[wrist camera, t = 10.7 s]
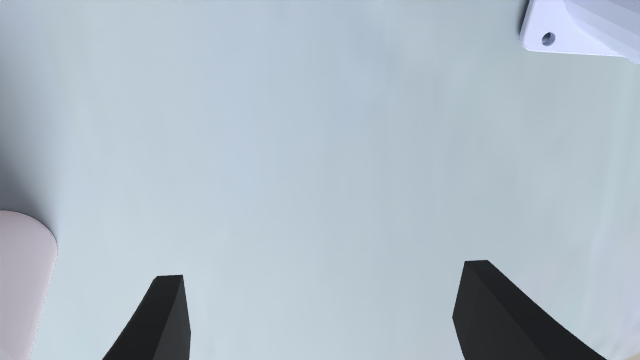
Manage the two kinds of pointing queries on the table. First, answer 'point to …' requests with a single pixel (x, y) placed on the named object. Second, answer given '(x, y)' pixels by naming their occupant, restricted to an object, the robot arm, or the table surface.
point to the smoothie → (23, 281)
